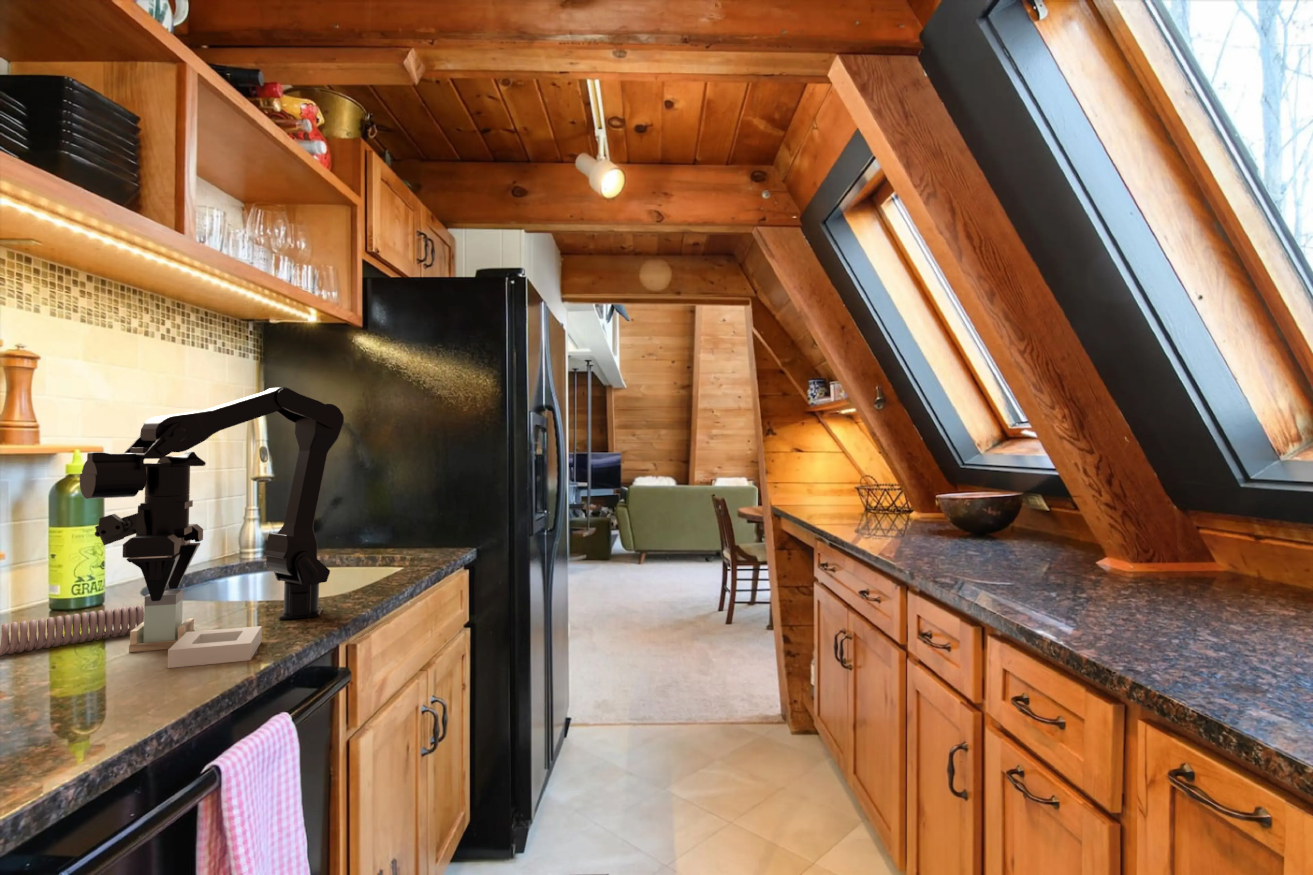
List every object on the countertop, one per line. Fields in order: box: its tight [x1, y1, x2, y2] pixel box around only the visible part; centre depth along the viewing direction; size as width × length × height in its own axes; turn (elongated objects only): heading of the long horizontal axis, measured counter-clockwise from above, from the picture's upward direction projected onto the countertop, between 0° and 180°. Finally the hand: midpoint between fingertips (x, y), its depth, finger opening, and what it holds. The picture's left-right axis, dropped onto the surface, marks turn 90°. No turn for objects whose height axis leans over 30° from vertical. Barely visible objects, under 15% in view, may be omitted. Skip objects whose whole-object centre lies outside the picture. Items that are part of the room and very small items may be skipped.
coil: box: [0, 604, 144, 657], centre depth 105 cm, size 5×5×18 cm
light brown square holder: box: [128, 617, 195, 653], centre depth 104 cm, size 7×7×3 cm
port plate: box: [167, 625, 263, 669], centre depth 100 cm, size 10×10×2 cm
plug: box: [143, 589, 184, 643], centre depth 104 cm, size 4×4×8 cm
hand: (165, 594), depth 105 cm, fingers open, 9 cm apart
